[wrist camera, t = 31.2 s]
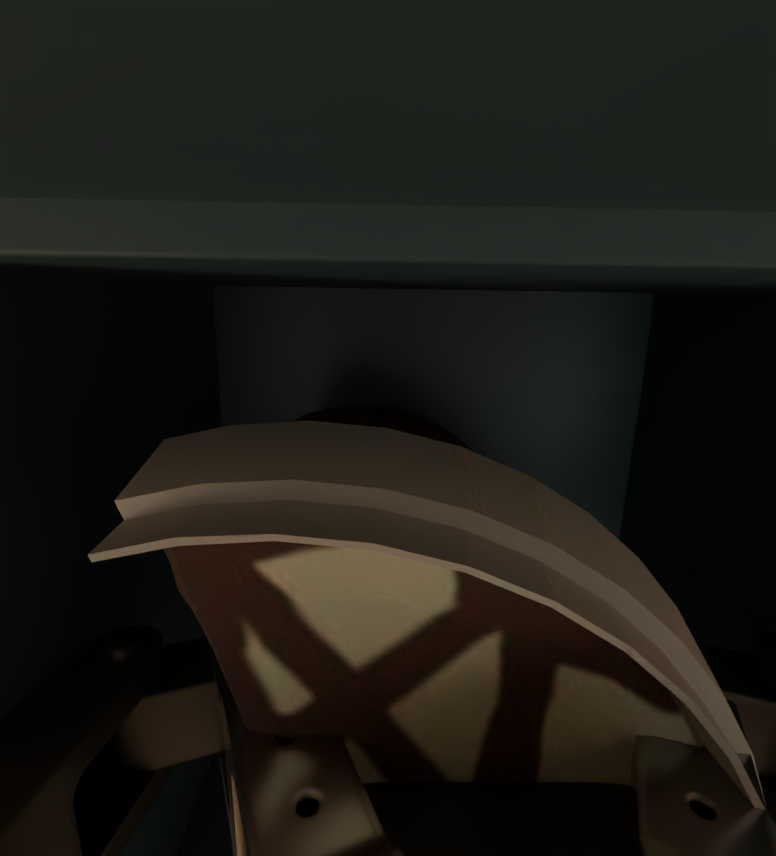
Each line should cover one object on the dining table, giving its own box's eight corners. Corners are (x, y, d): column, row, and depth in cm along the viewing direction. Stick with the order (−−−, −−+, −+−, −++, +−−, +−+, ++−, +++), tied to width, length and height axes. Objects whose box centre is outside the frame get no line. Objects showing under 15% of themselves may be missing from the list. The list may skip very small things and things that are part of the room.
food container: (588, 669, 16) (875, 1197, 7) (409, 712, 17) (436, 1268, 7) (501, 299, 14) (780, 291, 4) (288, 364, 14) (59, 501, 4)
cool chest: (607, 692, 19) (901, 1217, 8) (227, 687, 19) (10, 1212, 8) (671, 266, 15) (1395, 182, 4) (193, 258, 15) (-312, 150, 4)
